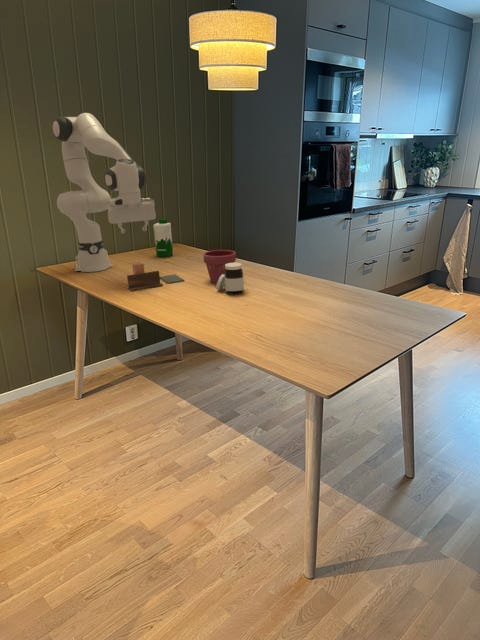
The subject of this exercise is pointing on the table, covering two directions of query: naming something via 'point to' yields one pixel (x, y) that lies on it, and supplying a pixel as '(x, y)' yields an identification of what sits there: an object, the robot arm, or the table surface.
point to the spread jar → (232, 279)
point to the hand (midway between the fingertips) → (134, 232)
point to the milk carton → (163, 238)
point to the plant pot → (218, 262)
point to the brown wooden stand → (144, 281)
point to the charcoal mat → (171, 279)
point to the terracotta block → (138, 268)
